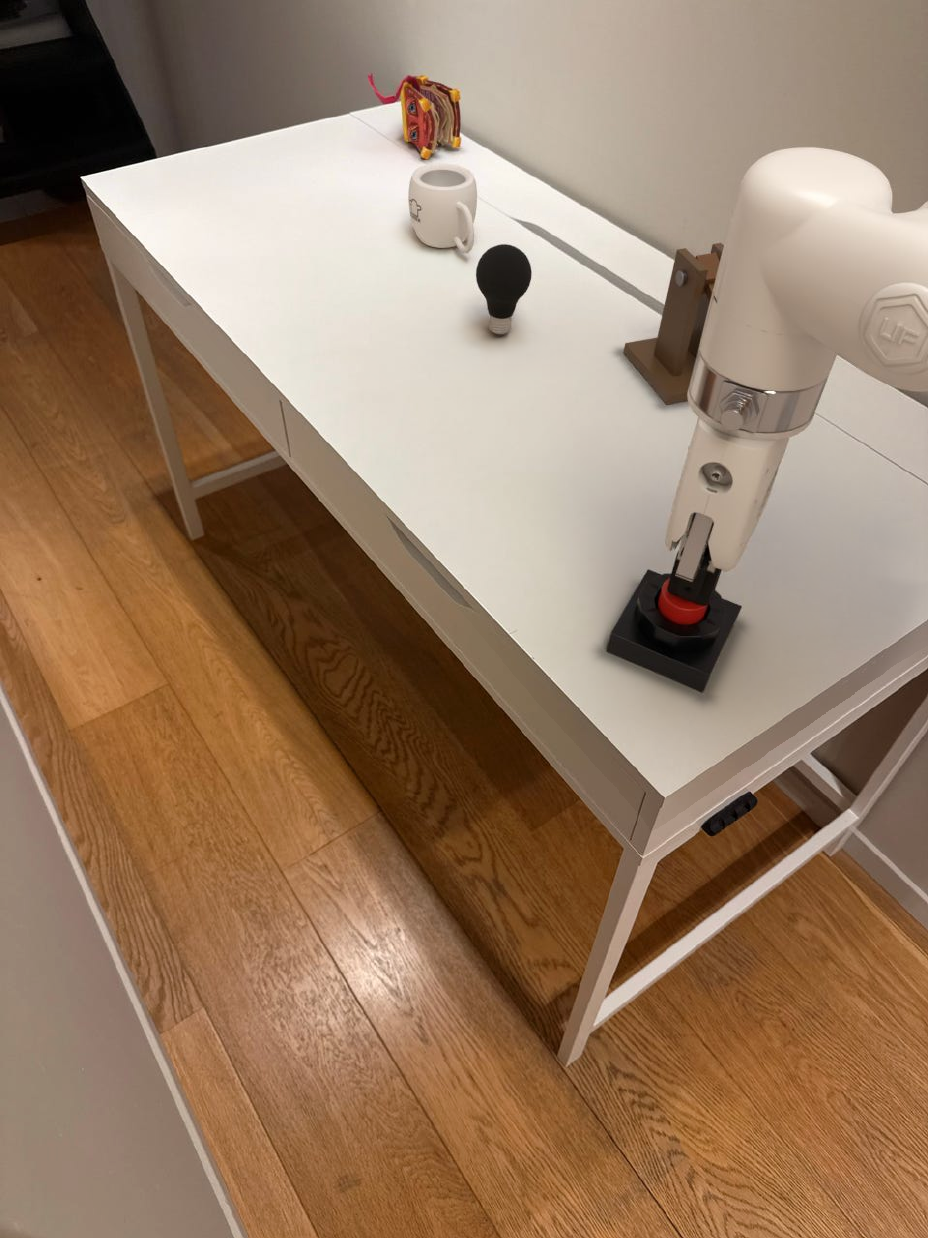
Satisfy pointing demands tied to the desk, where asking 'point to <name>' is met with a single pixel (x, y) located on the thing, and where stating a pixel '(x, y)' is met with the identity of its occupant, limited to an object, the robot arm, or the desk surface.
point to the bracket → (676, 330)
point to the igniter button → (679, 608)
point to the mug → (443, 205)
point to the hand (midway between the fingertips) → (689, 592)
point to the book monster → (427, 112)
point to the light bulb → (503, 283)
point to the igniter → (672, 635)
